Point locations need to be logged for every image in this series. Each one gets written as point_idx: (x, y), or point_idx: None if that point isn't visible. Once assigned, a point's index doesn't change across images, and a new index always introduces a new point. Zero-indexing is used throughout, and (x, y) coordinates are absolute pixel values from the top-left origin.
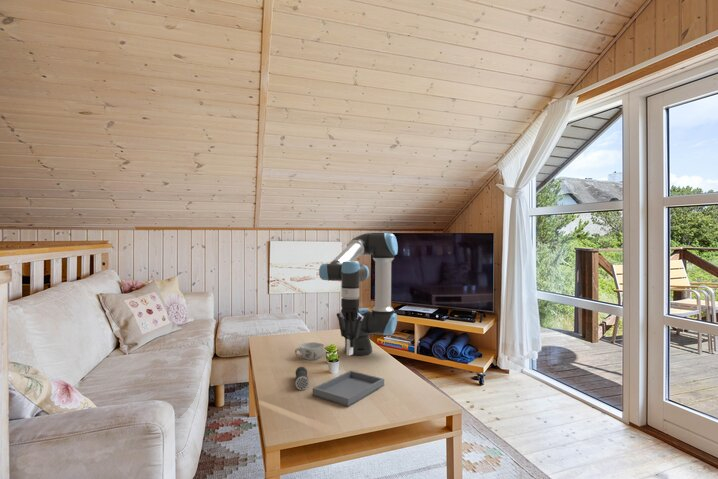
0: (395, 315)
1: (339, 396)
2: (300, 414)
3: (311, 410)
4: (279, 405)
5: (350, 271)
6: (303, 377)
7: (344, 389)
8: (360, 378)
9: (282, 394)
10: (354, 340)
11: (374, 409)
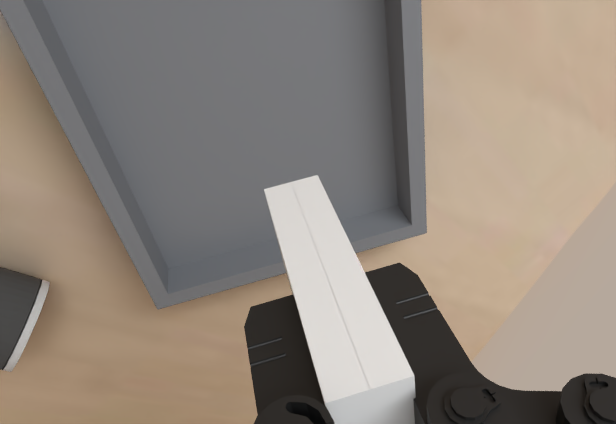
0: None
1: (365, 249)
2: None
3: None
4: (171, 408)
5: None
6: (22, 351)
7: (222, 98)
8: None
9: (45, 377)
10: (464, 356)
11: (532, 124)
